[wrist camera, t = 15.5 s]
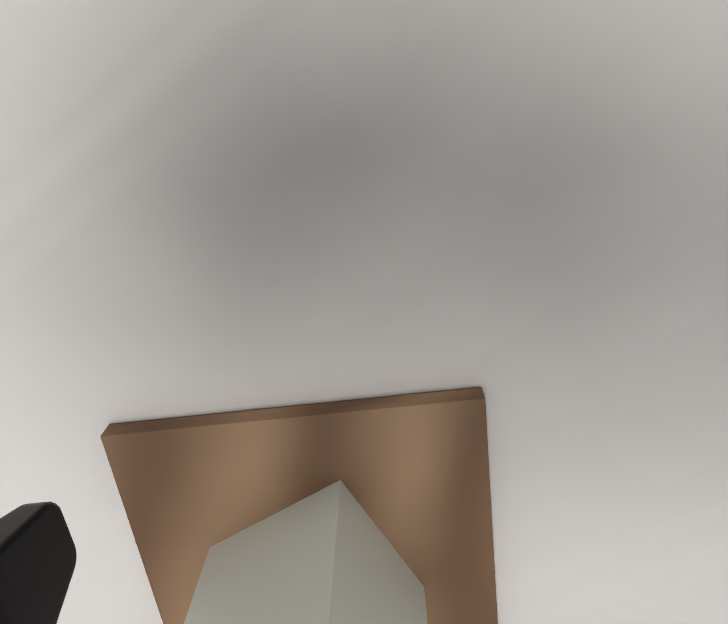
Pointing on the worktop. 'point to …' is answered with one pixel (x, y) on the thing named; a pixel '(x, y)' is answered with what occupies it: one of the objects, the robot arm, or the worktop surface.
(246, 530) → the pale green box
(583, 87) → the worktop surface
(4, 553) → the robot arm
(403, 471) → the flat brown board
